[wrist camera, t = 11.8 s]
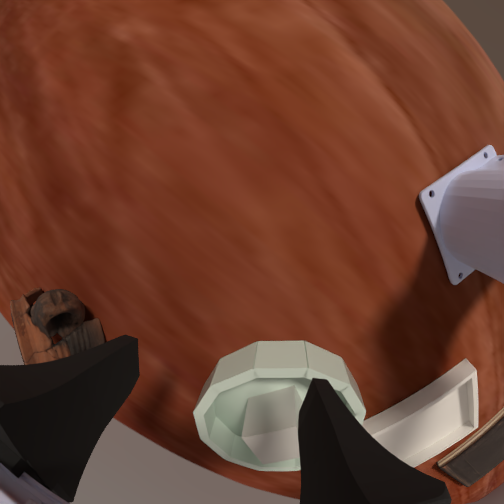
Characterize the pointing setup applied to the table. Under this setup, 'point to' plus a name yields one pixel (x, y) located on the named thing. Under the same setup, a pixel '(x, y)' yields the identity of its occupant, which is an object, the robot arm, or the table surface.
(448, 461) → the hardcover book
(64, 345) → the pottery mug
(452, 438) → the tray
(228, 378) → the bowl
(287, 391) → the block
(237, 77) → the table surface
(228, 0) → the table surface
